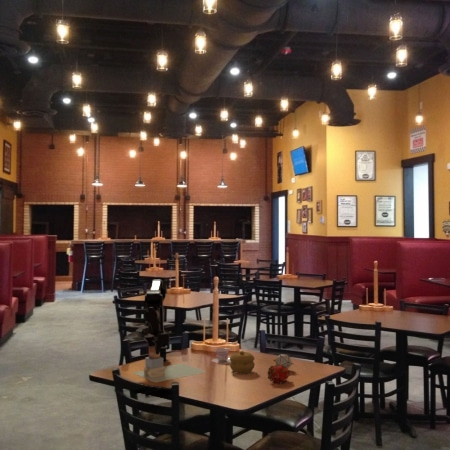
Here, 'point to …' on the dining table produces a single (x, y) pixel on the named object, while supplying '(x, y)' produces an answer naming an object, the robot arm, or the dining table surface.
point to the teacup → (222, 356)
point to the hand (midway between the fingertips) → (154, 353)
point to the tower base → (154, 372)
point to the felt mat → (173, 372)
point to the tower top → (153, 362)
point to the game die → (283, 360)
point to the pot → (242, 362)
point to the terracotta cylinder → (153, 353)
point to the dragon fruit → (278, 373)
